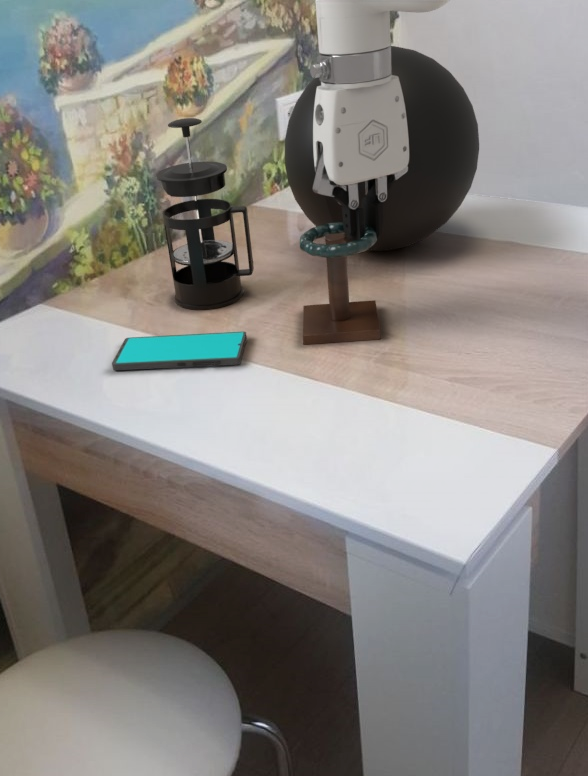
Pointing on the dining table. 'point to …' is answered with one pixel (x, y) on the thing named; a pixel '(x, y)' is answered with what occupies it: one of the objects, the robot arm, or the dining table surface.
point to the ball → (426, 154)
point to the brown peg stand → (339, 308)
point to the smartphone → (180, 351)
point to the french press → (202, 233)
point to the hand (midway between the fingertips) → (364, 235)
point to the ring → (337, 249)
